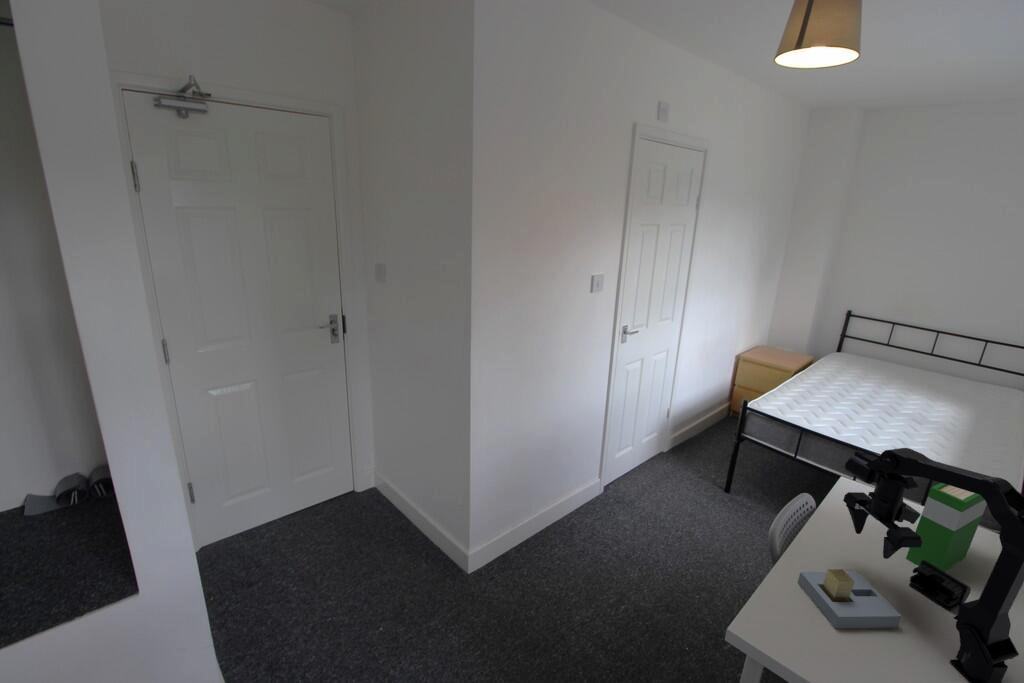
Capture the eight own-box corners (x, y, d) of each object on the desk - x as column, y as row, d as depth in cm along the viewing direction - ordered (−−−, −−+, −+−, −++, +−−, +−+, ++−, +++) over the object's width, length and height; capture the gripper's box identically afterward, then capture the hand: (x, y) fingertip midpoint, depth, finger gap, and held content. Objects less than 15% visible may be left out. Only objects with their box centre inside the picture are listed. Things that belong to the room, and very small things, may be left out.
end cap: (965, 605, 121) (974, 583, 119) (950, 613, 119) (959, 591, 117) (920, 577, 130) (928, 557, 128) (905, 584, 127) (913, 563, 125)
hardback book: (934, 541, 145) (960, 473, 138) (965, 557, 139) (993, 487, 132) (905, 558, 137) (931, 487, 130) (936, 576, 131) (965, 502, 124)
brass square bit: (845, 610, 118) (854, 581, 115) (830, 610, 117) (839, 581, 115) (833, 597, 121) (842, 569, 119) (819, 597, 121) (827, 569, 118)
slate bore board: (897, 627, 113) (901, 616, 112) (834, 628, 112) (838, 616, 111) (853, 582, 127) (857, 571, 126) (797, 582, 126) (800, 571, 125)
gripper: (953, 518, 111) (932, 572, 115) (887, 474, 128) (872, 522, 133) (908, 518, 110) (889, 572, 114) (849, 473, 128) (834, 522, 132)
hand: (871, 545), depth 123 cm, fingers open, 9 cm apart
